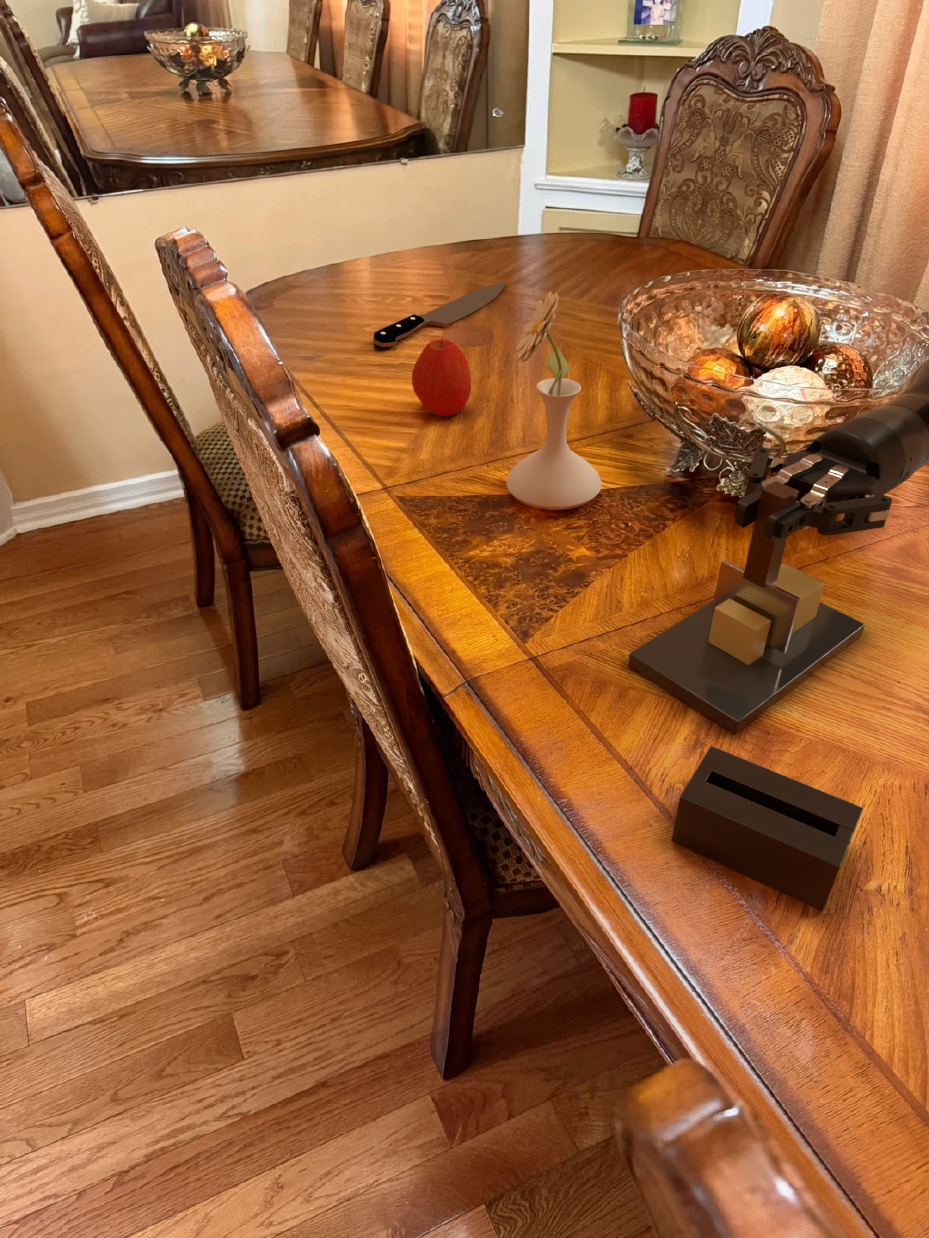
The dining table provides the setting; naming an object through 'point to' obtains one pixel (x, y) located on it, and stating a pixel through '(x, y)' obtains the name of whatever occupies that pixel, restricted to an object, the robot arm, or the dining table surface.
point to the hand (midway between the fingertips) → (754, 523)
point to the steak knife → (436, 316)
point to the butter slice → (739, 631)
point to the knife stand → (765, 826)
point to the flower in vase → (552, 431)
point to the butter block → (801, 593)
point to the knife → (763, 572)
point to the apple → (442, 378)
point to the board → (739, 665)
